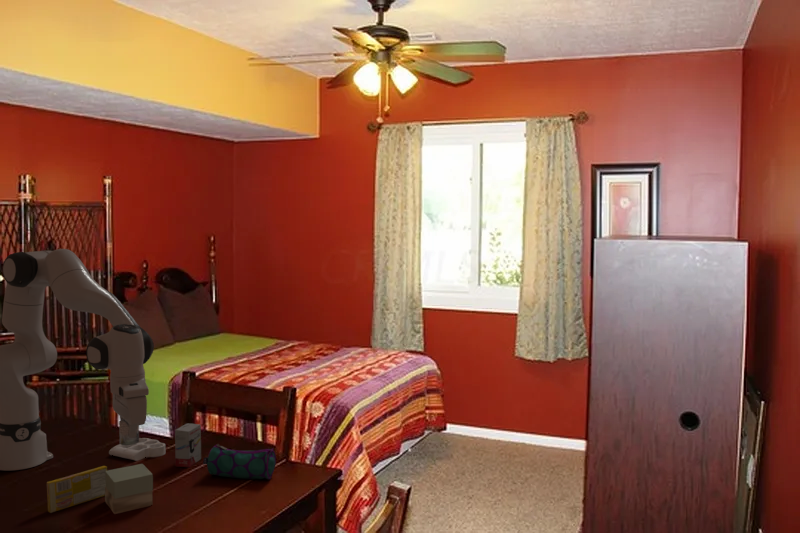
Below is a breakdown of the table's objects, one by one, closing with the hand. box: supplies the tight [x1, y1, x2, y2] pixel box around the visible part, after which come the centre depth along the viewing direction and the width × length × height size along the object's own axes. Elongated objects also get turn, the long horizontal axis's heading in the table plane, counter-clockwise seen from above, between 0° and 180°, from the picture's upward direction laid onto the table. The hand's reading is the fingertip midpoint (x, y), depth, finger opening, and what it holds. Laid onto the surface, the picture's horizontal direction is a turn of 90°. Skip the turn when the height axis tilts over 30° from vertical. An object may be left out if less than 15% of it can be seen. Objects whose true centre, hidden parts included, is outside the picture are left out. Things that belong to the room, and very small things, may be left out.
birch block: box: [104, 487, 154, 515], centre depth 190 cm, size 10×10×4 cm
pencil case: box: [202, 443, 277, 480], centre depth 211 cm, size 21×9×10 cm, turn 79°
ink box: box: [174, 422, 202, 468], centre depth 222 cm, size 9×5×12 cm, turn 168°
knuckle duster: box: [108, 437, 166, 462], centre depth 232 cm, size 3×18×15 cm
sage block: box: [105, 463, 154, 499], centre depth 190 cm, size 10×10×4 cm
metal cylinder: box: [118, 419, 140, 445], centre depth 189 cm, size 5×5×6 cm
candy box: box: [46, 465, 108, 514], centre depth 190 cm, size 16×2×8 cm, turn 141°
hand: (129, 434), depth 189 cm, fingers closed on metal cylinder, 5 cm apart
